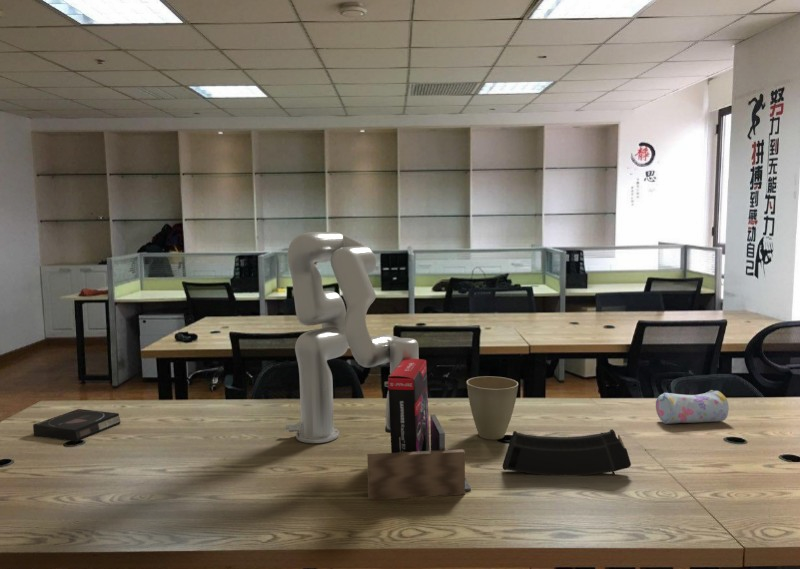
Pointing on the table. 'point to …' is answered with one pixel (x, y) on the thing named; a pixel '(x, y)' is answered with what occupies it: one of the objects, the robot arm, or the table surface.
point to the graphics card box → (409, 406)
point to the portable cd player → (76, 425)
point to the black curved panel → (566, 454)
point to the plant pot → (492, 404)
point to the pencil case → (692, 407)
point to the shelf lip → (416, 474)
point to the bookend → (440, 440)
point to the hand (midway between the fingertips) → (405, 452)
